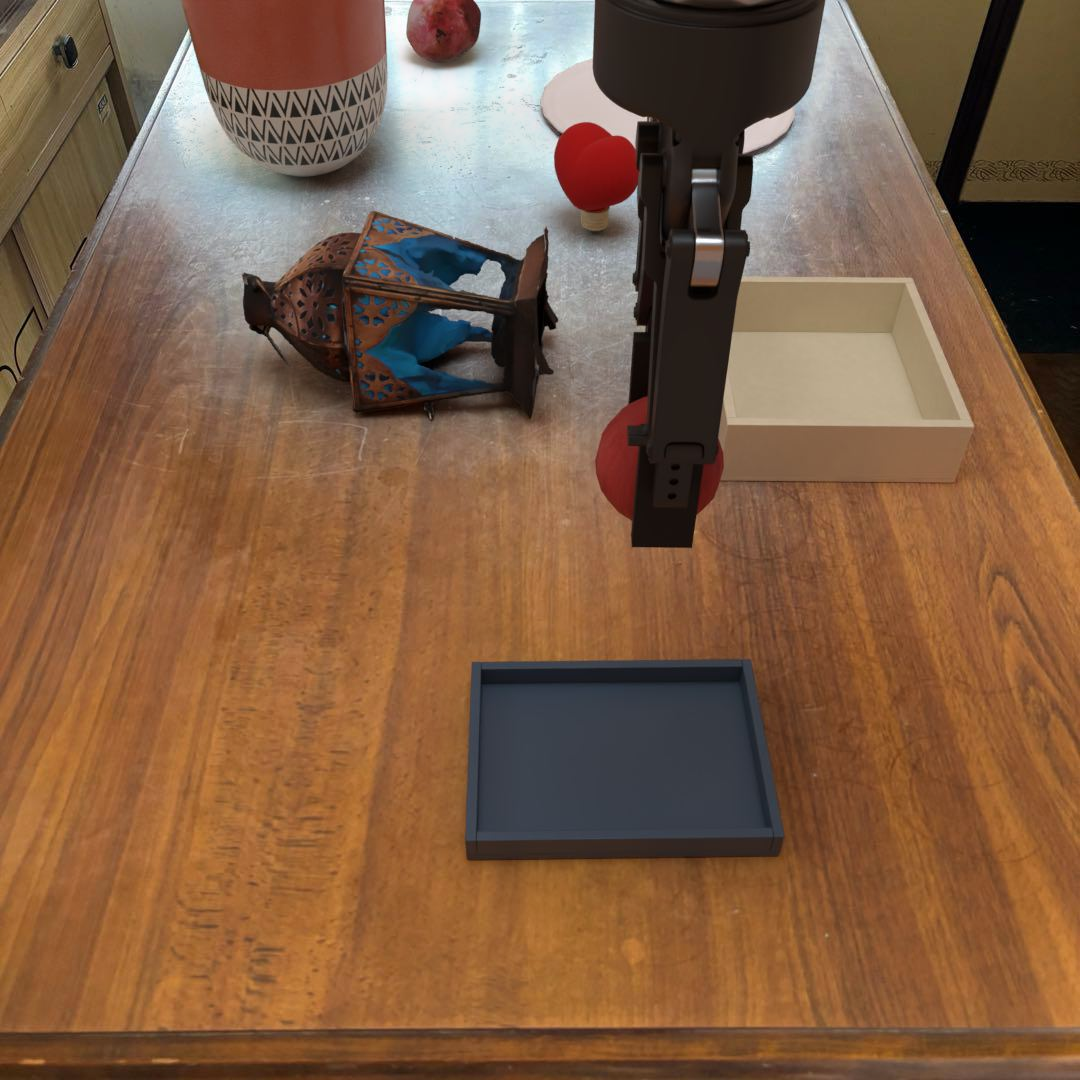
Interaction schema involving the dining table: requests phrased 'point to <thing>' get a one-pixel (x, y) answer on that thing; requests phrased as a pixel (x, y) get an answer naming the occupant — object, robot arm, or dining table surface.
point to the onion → (621, 462)
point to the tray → (618, 761)
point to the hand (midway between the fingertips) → (657, 491)
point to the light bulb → (595, 171)
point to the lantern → (405, 313)
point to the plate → (583, 101)
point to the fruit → (443, 28)
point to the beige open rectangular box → (839, 385)
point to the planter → (293, 77)
